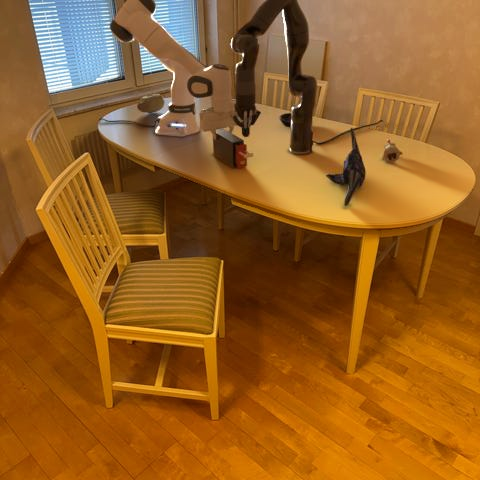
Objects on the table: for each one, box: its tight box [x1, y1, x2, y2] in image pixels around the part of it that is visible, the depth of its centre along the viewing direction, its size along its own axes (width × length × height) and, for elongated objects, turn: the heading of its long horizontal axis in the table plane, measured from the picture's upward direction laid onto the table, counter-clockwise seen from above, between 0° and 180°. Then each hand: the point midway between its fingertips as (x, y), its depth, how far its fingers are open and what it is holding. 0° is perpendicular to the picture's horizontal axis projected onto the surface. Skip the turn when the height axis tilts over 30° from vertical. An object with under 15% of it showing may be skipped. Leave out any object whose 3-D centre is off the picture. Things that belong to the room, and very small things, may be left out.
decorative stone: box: [136, 93, 165, 114], centre depth 254 cm, size 17×11×10 cm, turn 135°
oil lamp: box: [278, 112, 292, 129], centre depth 232 cm, size 15×20×5 cm
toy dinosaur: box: [325, 127, 367, 207], centre depth 167 cm, size 37×15×15 cm
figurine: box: [381, 138, 404, 163], centre depth 192 cm, size 9×7×15 cm
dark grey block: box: [212, 128, 245, 169], centre depth 192 cm, size 18×5×11 cm, turn 30°
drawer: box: [234, 143, 254, 169], centre depth 188 cm, size 22×4×9 cm, turn 31°
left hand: (222, 137), depth 194 cm, fingers closed on dark grey block, 5 cm apart
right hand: (245, 136), depth 176 cm, fingers closed
